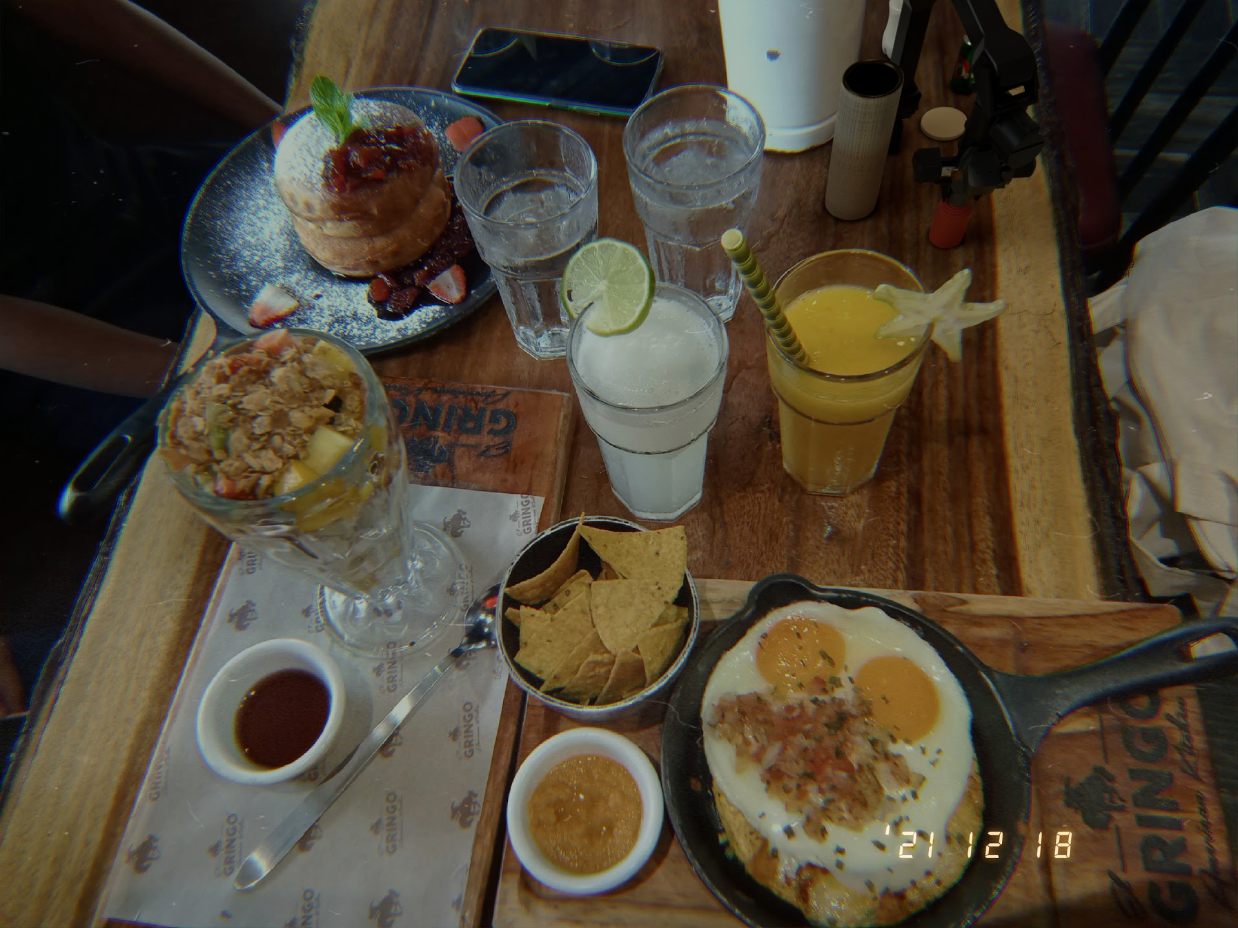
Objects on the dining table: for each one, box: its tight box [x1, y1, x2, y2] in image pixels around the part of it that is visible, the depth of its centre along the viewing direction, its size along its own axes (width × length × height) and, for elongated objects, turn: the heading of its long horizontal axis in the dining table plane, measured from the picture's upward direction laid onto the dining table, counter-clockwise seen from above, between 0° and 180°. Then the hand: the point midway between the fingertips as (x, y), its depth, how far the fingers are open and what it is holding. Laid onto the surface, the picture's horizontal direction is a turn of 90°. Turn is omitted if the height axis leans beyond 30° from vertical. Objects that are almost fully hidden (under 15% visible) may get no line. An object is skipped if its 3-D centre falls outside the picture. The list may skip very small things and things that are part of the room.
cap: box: [947, 178, 973, 207], centre depth 129 cm, size 4×4×3 cm
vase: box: [824, 57, 904, 221], centre depth 134 cm, size 10×10×28 cm
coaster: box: [920, 106, 968, 141], centre depth 151 cm, size 9×9×1 cm
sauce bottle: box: [928, 198, 974, 249], centre depth 134 cm, size 6×6×12 cm
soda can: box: [949, 33, 975, 95], centre depth 150 cm, size 5×5×12 cm
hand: (959, 200), depth 131 cm, fingers open, 5 cm apart
